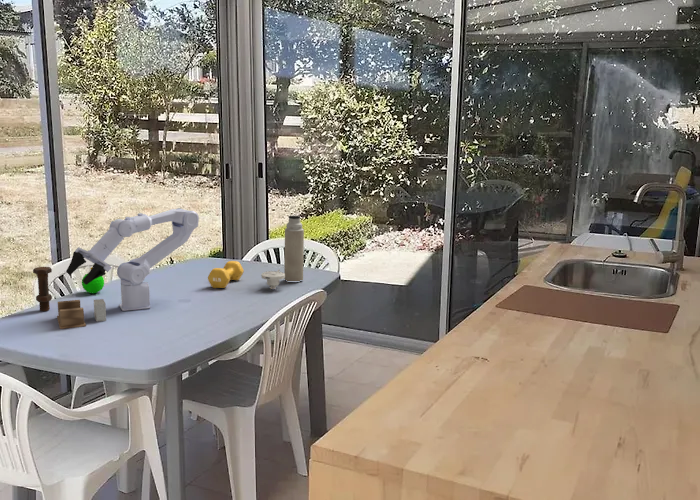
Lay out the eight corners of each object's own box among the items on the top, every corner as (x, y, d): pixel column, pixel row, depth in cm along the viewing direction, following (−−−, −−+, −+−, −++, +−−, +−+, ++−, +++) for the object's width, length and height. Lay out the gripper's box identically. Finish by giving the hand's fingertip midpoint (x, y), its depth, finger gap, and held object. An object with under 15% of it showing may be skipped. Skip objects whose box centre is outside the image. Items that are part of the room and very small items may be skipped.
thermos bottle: (291, 277, 284) (292, 213, 279) (306, 280, 280) (307, 215, 275) (280, 281, 278) (281, 215, 272) (295, 284, 273) (296, 217, 268)
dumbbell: (227, 290, 260) (226, 270, 259) (206, 288, 262) (205, 268, 261) (245, 280, 278) (245, 261, 277) (225, 278, 280) (225, 259, 279)
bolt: (45, 313, 222) (43, 270, 220) (32, 312, 223) (29, 269, 221) (56, 308, 228) (54, 266, 225) (43, 307, 229) (41, 265, 226)
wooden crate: (81, 315, 222) (80, 299, 221) (85, 326, 210) (85, 309, 209) (57, 317, 218) (56, 301, 217) (60, 329, 206) (59, 311, 205)
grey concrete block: (103, 316, 222) (103, 299, 220) (106, 320, 216) (105, 303, 215) (94, 317, 220) (93, 299, 219) (96, 321, 215) (95, 304, 214)
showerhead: (289, 270, 266) (278, 275, 256) (289, 287, 267) (277, 293, 258) (269, 267, 269) (257, 272, 260) (269, 284, 270) (256, 290, 261)
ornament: (105, 290, 255) (104, 265, 253) (104, 295, 247) (103, 269, 245) (82, 291, 252) (81, 265, 251) (81, 296, 245) (80, 270, 243)
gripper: (83, 232, 220) (55, 262, 215) (114, 250, 215) (86, 281, 210) (92, 243, 226) (64, 273, 221) (123, 261, 221) (95, 292, 216)
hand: (75, 278), depth 216 cm, fingers open, 7 cm apart
